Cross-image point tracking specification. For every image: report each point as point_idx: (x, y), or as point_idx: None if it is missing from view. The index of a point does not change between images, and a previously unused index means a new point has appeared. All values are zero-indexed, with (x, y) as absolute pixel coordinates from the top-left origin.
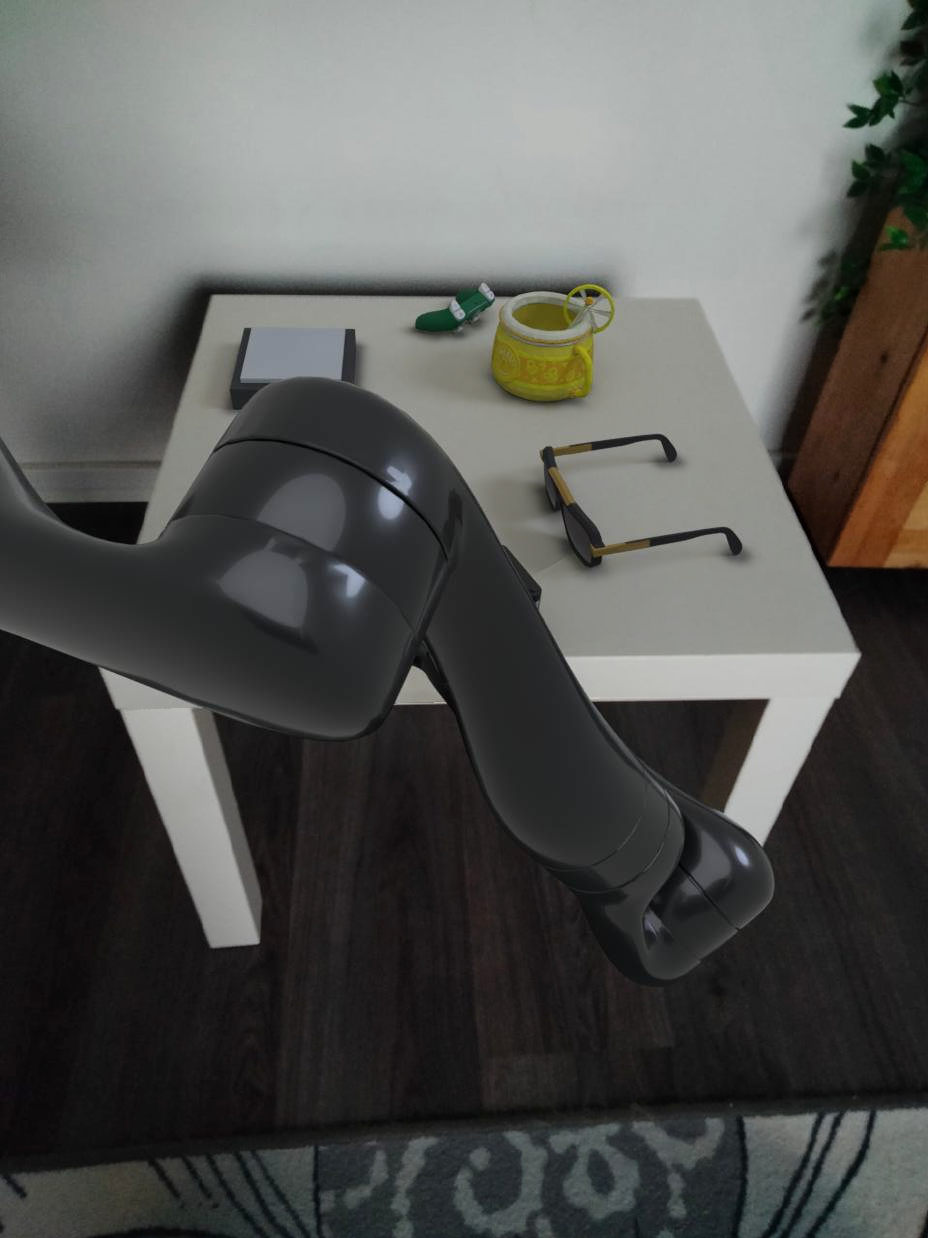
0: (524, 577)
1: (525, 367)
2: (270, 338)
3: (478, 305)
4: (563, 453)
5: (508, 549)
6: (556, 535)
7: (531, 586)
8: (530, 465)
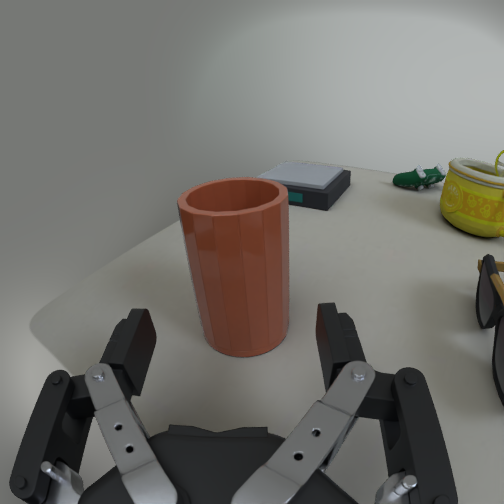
0: (434, 463)
1: (466, 201)
2: (292, 165)
3: (434, 174)
4: (498, 269)
5: (426, 384)
6: (480, 357)
7: (439, 496)
8: (463, 279)
